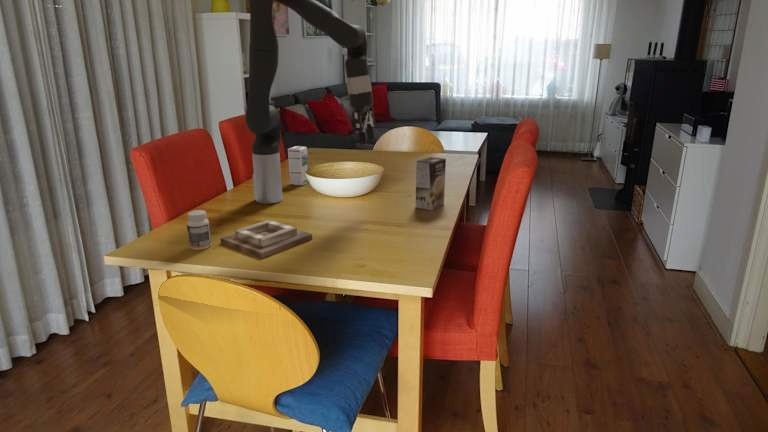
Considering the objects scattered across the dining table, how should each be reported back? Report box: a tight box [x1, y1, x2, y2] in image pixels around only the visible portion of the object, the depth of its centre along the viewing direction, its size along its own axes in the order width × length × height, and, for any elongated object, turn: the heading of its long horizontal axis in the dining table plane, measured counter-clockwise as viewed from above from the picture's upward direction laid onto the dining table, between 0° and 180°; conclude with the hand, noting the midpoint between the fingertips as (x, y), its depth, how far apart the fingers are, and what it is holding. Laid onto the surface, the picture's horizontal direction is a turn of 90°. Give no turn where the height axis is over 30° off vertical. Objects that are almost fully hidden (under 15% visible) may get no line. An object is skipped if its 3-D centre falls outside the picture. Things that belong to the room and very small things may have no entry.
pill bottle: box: [186, 209, 212, 251], centre depth 144 cm, size 6×6×10 cm
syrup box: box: [287, 145, 310, 186], centre depth 208 cm, size 6×6×14 cm
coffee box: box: [415, 156, 447, 211], centre depth 178 cm, size 9×6×16 cm
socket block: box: [219, 219, 313, 259], centre depth 149 cm, size 18×18×4 cm
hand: (367, 141), depth 172 cm, fingers open, 8 cm apart
